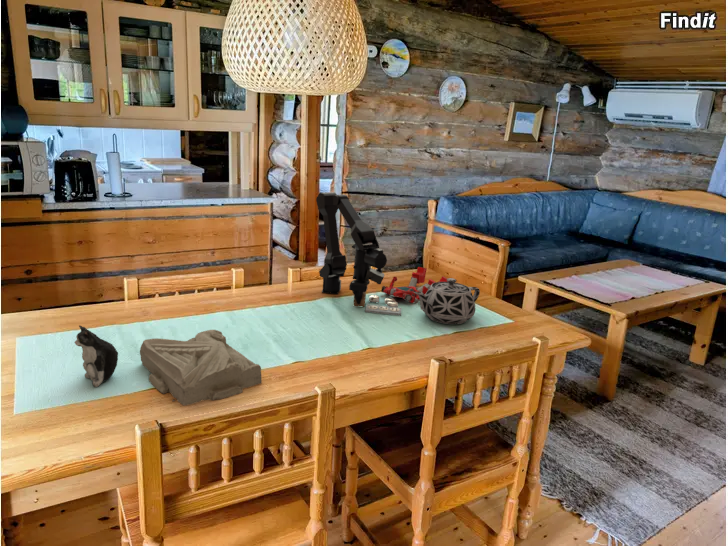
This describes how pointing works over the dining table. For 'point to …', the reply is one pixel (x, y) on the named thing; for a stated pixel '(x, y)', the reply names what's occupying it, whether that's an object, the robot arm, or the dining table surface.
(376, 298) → the tealight
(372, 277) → the robot arm
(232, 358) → the sculpture
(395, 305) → the tealight
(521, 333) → the dining table surface
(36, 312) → the dining table surface
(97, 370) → the figurine
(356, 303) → the block
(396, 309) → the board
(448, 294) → the teapot
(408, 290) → the toy robot
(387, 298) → the tealight
